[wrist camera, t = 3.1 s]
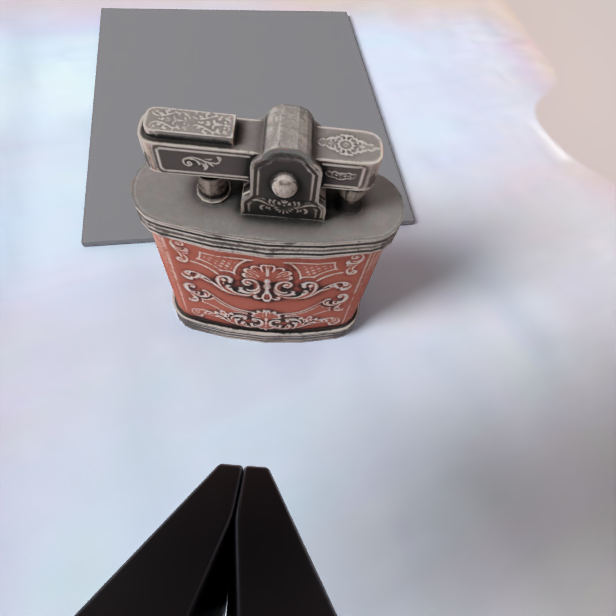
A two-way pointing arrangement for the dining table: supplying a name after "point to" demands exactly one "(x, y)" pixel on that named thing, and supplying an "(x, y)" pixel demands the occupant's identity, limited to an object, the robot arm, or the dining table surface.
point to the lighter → (264, 219)
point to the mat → (214, 90)
